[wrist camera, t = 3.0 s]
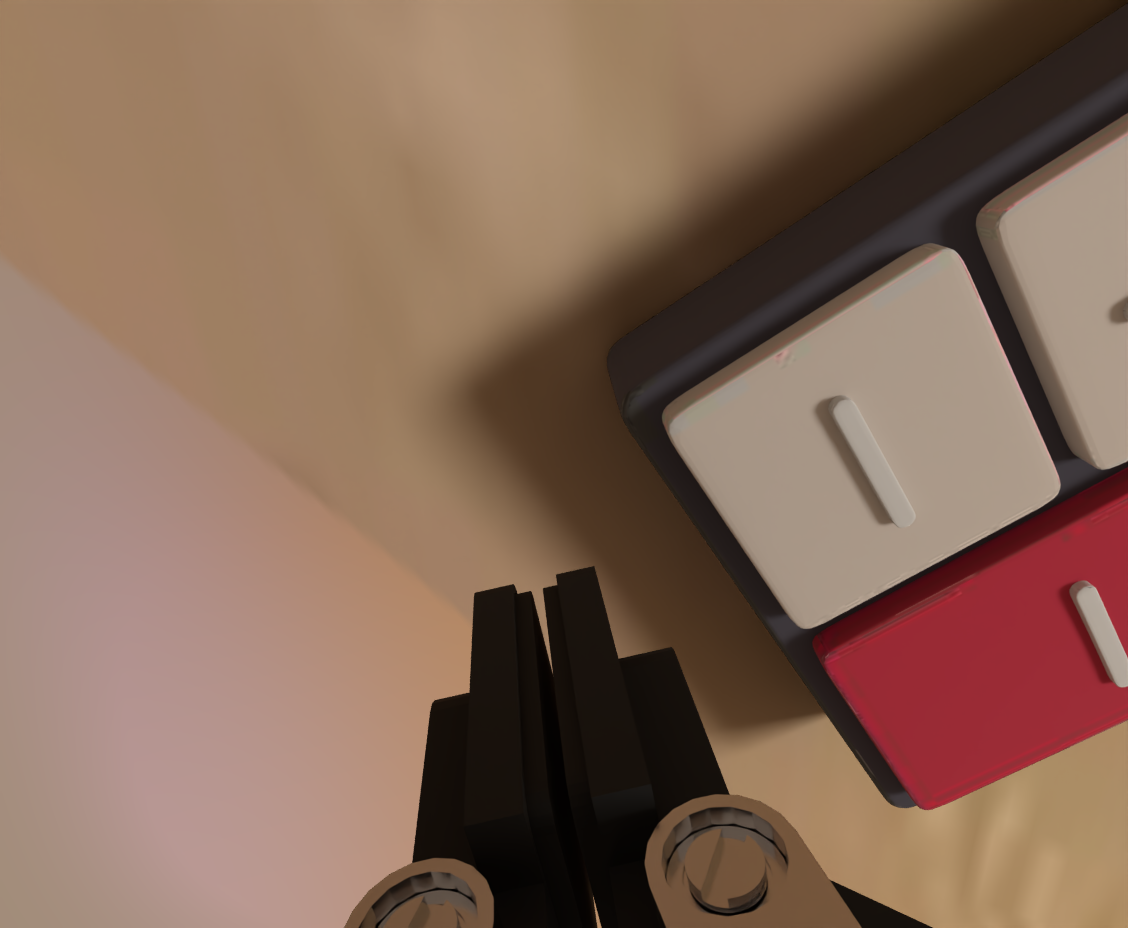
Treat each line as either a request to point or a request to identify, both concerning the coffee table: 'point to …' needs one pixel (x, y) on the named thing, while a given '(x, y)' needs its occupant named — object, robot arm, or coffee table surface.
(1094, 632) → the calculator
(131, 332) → the coffee table surface
